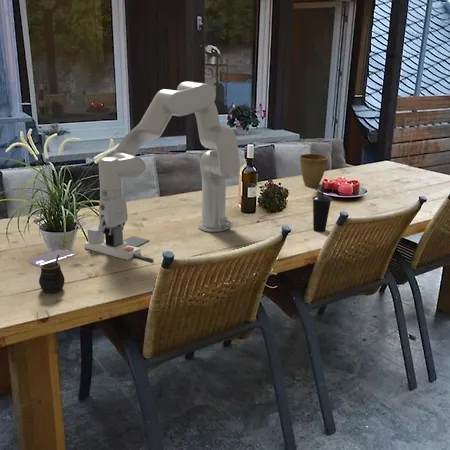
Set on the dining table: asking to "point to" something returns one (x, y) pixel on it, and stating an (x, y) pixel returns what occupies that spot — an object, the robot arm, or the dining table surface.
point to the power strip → (99, 245)
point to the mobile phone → (51, 257)
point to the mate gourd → (51, 277)
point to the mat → (135, 241)
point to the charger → (116, 236)
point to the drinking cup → (320, 211)
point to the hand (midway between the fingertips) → (114, 242)
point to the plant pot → (312, 168)
